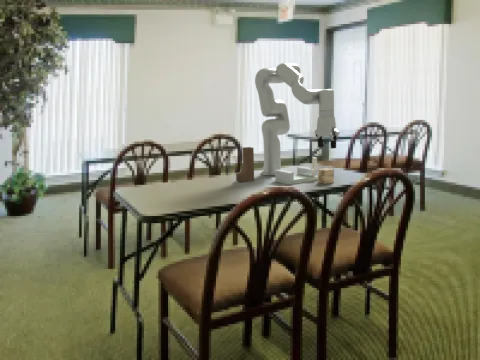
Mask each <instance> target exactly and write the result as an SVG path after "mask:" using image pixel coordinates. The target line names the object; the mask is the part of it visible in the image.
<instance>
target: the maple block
mask: <svg viewBox="0 0 480 360" xmlns="http://www.w3.org/2000/svg"><path fill="white" fill-rule="evenodd" d="M317 173H318V175H317V176H318V180H317V181H318V182H319V184H323V183H324V185H327V184H326V183H328V184H333V182H335V179H334V178H335V176H334V174H335V169H334V168H330V167H329V168H328V167H325V168H319V169H318V168H317Z"/></svg>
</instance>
